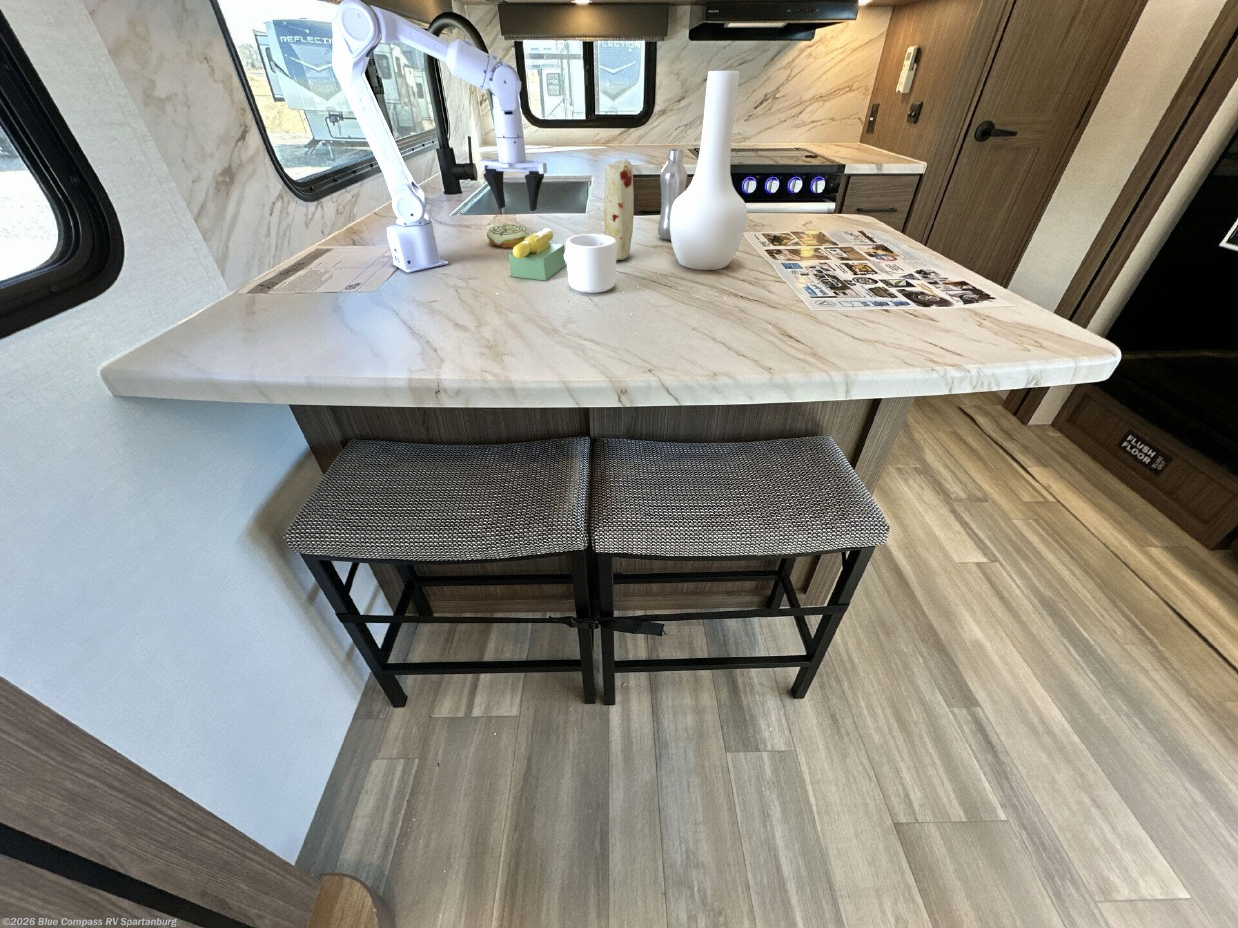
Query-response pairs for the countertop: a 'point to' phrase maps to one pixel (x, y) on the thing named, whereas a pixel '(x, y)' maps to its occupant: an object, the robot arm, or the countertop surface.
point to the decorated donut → (507, 235)
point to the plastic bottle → (671, 188)
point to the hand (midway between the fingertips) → (517, 209)
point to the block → (538, 263)
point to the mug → (591, 262)
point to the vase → (711, 187)
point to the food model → (619, 205)
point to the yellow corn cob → (533, 243)
